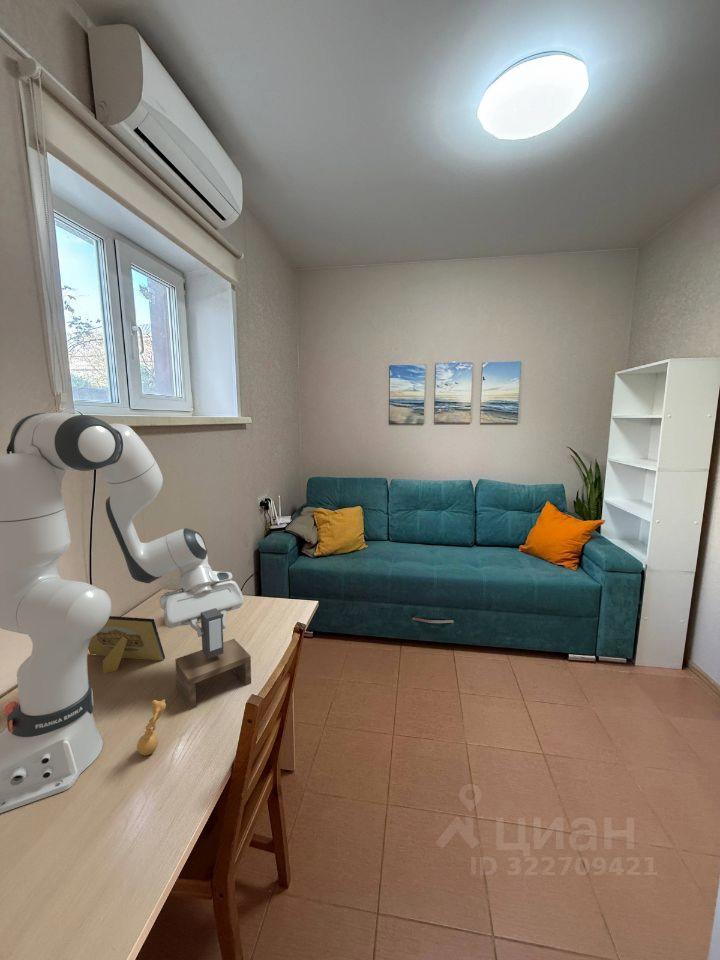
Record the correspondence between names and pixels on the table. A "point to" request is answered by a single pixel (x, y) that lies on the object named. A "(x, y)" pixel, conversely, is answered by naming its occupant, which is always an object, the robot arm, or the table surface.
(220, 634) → the tall grey pillar block
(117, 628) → the picture frame
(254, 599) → the table surface
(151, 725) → the figurine
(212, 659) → the walnut shelf
